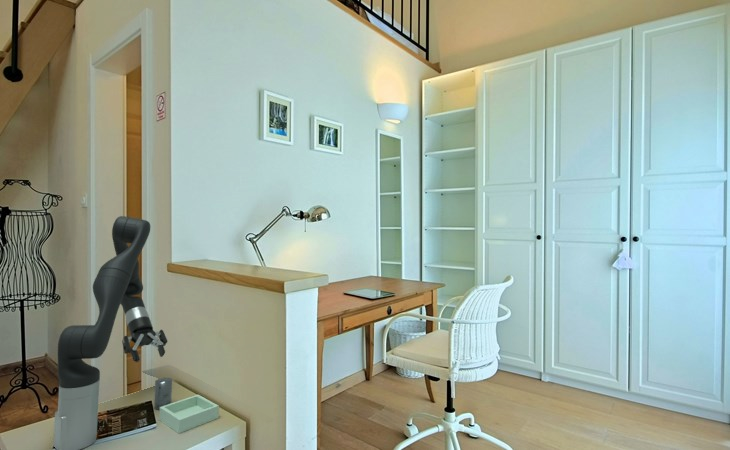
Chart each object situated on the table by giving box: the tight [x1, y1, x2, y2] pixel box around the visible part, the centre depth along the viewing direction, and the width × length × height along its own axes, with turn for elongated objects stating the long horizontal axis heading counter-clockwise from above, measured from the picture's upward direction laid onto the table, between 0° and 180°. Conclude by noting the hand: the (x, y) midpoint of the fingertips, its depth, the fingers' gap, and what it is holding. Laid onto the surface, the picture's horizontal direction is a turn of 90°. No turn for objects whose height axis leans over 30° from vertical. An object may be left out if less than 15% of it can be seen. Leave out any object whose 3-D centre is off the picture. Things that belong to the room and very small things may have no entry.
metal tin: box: [153, 377, 173, 411], centre depth 131 cm, size 5×5×9 cm
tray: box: [158, 394, 220, 434], centre depth 123 cm, size 13×13×4 cm
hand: (150, 358), depth 138 cm, fingers open, 8 cm apart
